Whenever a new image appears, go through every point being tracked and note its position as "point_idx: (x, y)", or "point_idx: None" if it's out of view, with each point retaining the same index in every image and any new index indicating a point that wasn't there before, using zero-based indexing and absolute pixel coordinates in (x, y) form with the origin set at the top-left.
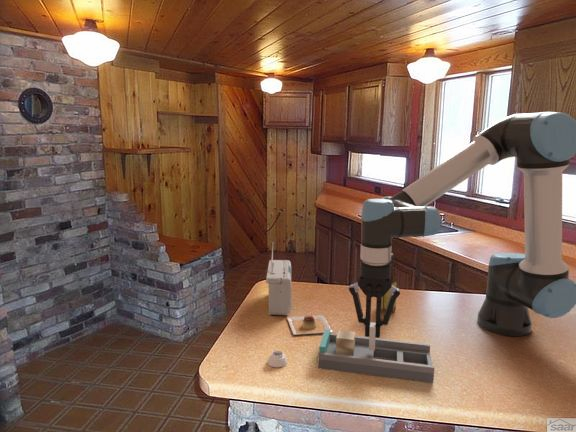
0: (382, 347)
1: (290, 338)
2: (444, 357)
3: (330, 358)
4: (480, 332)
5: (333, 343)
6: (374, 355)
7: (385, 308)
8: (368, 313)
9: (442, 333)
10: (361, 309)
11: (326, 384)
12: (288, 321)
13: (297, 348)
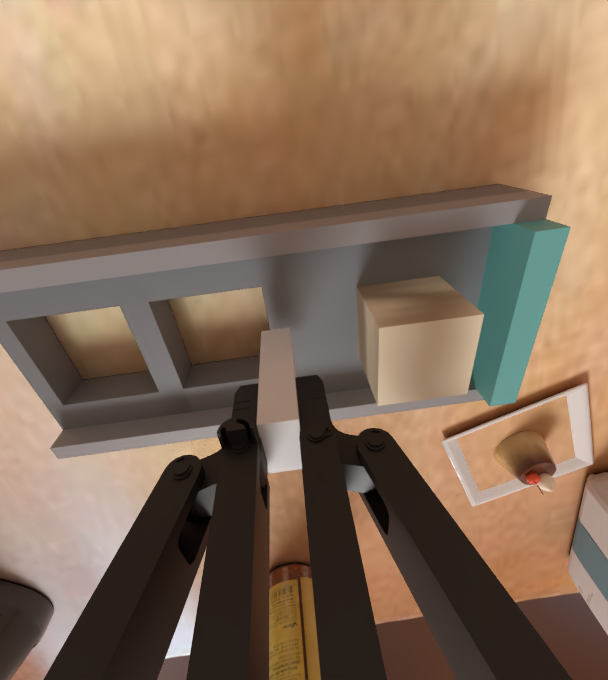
0: None
1: (595, 362)
2: (42, 432)
3: (473, 200)
4: (16, 567)
5: None
6: None
7: (293, 579)
8: (325, 519)
9: (109, 534)
10: (395, 548)
11: (461, 29)
12: (592, 447)
13: (576, 307)
